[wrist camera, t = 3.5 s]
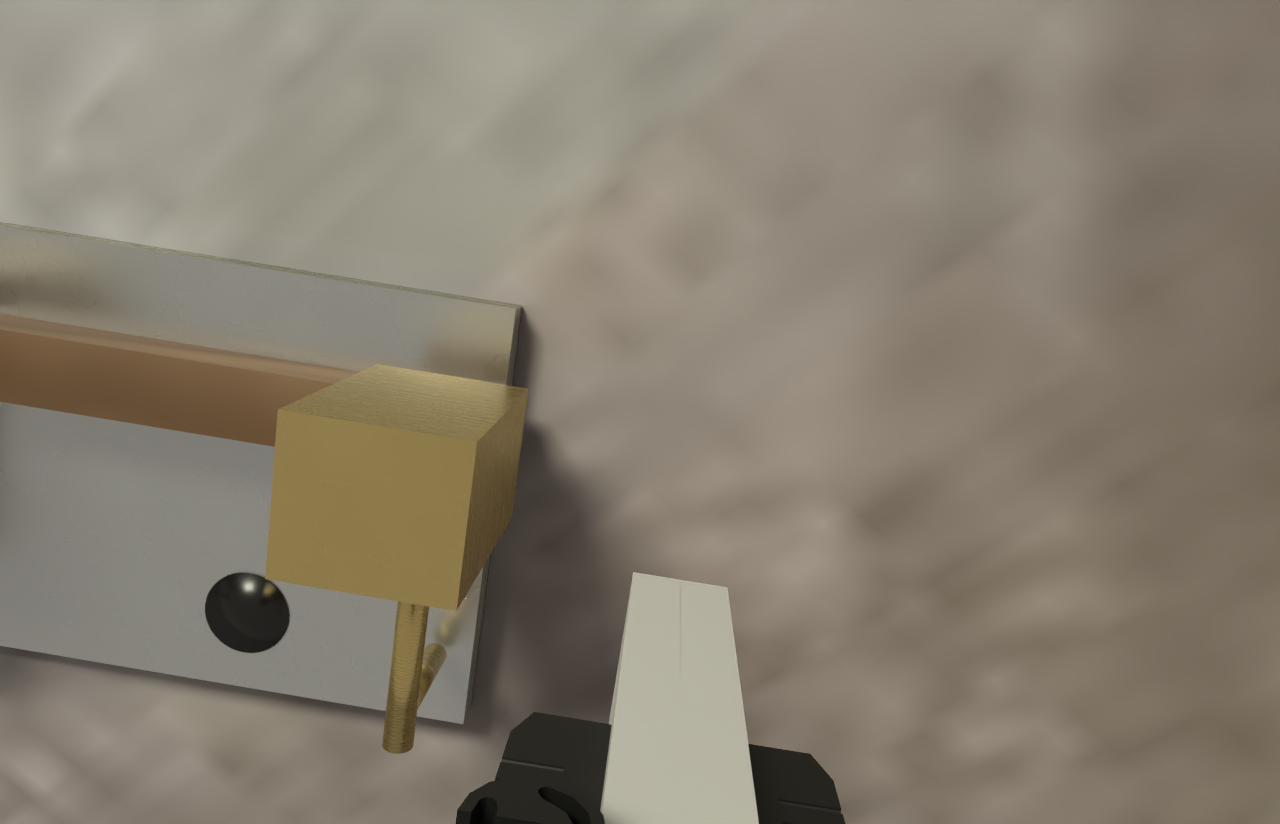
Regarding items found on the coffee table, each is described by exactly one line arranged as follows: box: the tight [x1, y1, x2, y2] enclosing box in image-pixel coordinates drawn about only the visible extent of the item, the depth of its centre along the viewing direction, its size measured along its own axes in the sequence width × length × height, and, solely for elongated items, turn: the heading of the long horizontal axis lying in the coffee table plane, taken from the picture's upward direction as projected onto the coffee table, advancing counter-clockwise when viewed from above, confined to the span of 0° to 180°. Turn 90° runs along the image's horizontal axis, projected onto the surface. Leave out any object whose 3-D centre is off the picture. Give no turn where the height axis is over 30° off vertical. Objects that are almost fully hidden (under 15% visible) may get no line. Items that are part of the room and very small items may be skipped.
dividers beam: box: [0, 314, 359, 447], centre depth 24 cm, size 10×21×8 cm, turn 81°
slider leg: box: [265, 364, 529, 754], centre depth 23 cm, size 10×4×8 cm, turn 171°
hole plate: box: [0, 222, 522, 724], centre depth 28 cm, size 13×21×1 cm, turn 81°
